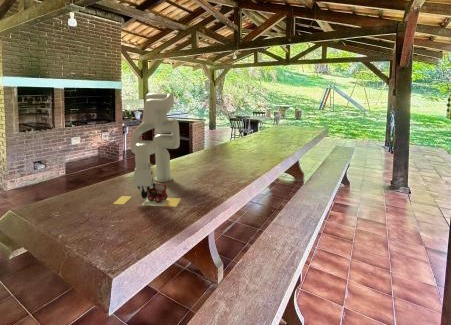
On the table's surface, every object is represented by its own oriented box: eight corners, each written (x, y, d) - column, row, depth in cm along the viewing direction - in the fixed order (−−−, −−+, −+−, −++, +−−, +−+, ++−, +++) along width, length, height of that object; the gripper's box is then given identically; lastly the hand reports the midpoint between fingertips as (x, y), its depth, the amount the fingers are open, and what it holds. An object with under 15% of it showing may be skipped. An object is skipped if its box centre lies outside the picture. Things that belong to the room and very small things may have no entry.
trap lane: (121, 196, 170) (121, 196, 170) (181, 198, 168) (181, 198, 167) (112, 204, 158) (112, 203, 158) (176, 206, 156) (176, 206, 156)
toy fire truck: (152, 196, 170) (152, 179, 167) (170, 200, 164) (169, 182, 162) (144, 200, 164) (143, 182, 161) (162, 204, 158) (161, 186, 156)
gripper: (158, 164, 161) (159, 195, 165) (132, 163, 162) (134, 194, 166) (154, 168, 154) (155, 200, 158) (126, 167, 155) (128, 199, 159)
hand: (144, 197), depth 162 cm, fingers closed
